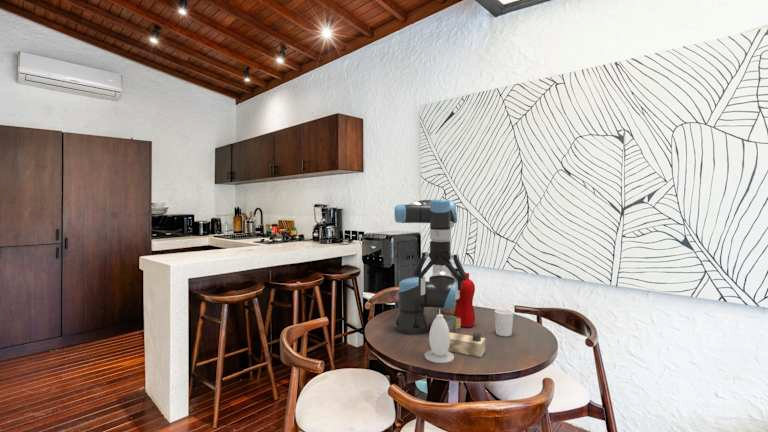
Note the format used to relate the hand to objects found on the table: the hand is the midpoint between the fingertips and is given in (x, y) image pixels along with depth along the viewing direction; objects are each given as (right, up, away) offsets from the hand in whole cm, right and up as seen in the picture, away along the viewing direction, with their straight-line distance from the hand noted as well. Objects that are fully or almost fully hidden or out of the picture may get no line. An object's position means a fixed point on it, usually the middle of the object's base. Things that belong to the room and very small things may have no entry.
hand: (439, 296), depth 140 cm
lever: (+5, -17, +14) cm, 23 cm away
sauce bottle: (0, -22, 0) cm, 22 cm away
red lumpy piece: (+18, -22, +38) cm, 47 cm away
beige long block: (+8, -23, +8) cm, 25 cm away
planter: (+15, -21, +59) cm, 64 cm away
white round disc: (0, -23, 0) cm, 23 cm away
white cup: (+32, -22, +25) cm, 46 cm away
